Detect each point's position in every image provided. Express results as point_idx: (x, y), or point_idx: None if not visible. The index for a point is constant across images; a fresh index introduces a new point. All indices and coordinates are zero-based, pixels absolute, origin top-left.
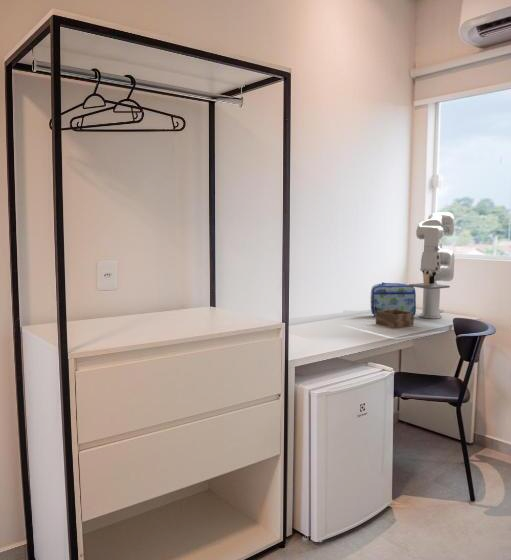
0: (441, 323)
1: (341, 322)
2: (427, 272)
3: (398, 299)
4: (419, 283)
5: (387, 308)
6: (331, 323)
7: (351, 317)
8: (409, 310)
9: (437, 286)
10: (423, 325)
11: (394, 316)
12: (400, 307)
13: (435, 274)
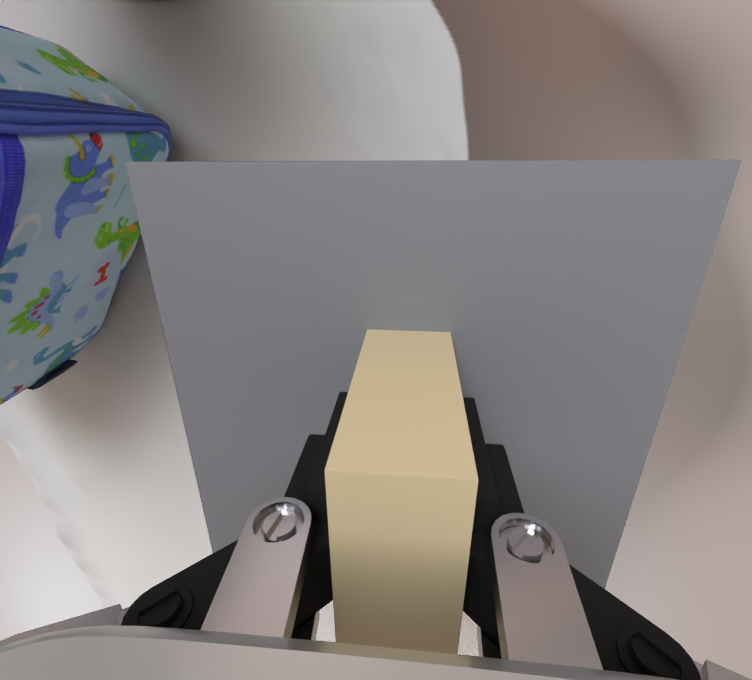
0: (402, 71)
1: (147, 538)
2: (261, 593)
3: (38, 282)
4: (185, 392)
5: (72, 321)
6: (155, 576)
7: (40, 429)
8: None
9: (610, 458)
10: None
11: None
12: (102, 250)
13: (607, 616)
